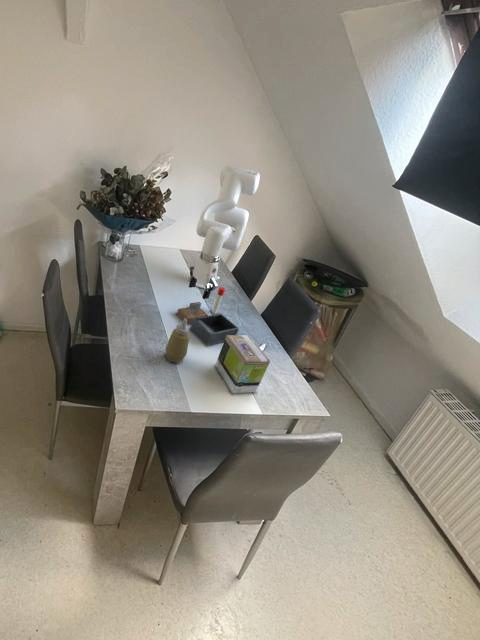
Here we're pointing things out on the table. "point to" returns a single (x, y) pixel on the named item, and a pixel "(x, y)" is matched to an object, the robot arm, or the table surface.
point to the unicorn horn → (262, 347)
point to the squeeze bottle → (178, 343)
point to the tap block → (190, 314)
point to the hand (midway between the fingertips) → (198, 292)
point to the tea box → (241, 363)
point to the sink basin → (213, 328)
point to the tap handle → (194, 307)
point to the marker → (218, 300)
